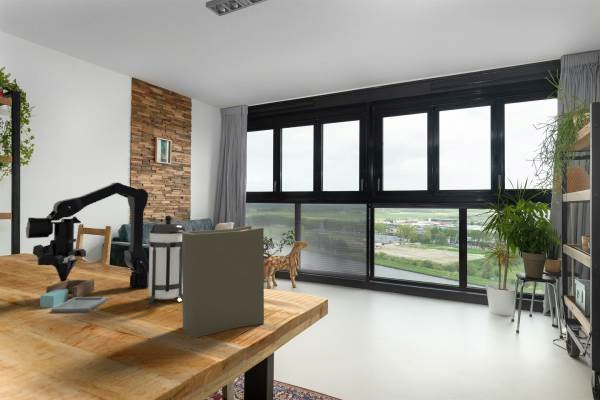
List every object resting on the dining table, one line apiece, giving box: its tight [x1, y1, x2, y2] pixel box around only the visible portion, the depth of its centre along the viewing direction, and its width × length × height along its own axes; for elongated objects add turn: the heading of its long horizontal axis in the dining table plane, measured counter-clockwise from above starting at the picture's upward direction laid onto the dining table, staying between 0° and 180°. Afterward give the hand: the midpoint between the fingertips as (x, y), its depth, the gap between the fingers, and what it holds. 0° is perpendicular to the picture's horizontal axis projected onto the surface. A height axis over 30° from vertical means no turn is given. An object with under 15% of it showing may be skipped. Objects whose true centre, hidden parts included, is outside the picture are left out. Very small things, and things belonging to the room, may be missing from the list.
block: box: [39, 289, 69, 308], centre depth 115 cm, size 4×4×8 cm
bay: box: [45, 278, 95, 299], centre depth 125 cm, size 10×12×4 cm
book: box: [182, 225, 265, 339], centre depth 98 cm, size 22×9×28 cm, turn 124°
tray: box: [50, 296, 109, 313], centre depth 113 cm, size 11×13×1 cm
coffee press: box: [148, 215, 188, 305], centre depth 122 cm, size 17×16×30 cm
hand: (63, 281), depth 120 cm, fingers closed
